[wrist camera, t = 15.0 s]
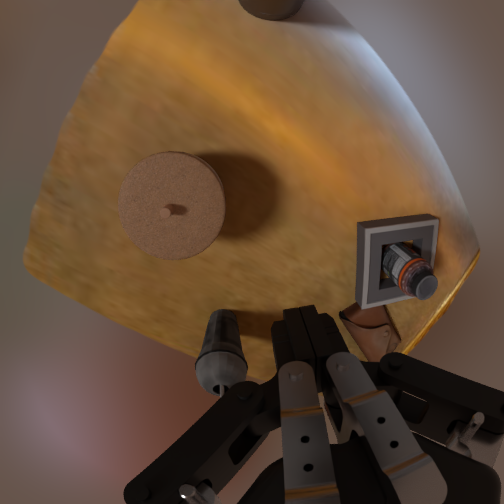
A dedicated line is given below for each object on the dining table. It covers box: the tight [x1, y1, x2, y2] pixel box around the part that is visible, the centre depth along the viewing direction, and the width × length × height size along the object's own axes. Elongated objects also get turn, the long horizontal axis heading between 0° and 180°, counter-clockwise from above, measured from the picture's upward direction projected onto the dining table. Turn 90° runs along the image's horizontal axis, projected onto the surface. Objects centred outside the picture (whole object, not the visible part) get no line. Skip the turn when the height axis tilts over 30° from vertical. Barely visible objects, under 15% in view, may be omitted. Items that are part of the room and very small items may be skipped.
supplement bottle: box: [381, 242, 438, 300], centre depth 40 cm, size 6×6×11 cm
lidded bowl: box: [118, 151, 226, 260], centre depth 35 cm, size 13×13×11 cm
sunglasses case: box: [339, 302, 401, 362], centre depth 51 cm, size 18×7×7 cm
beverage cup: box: [195, 309, 248, 398], centre depth 39 cm, size 7×7×20 cm
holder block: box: [355, 214, 439, 309], centre depth 44 cm, size 14×14×3 cm
